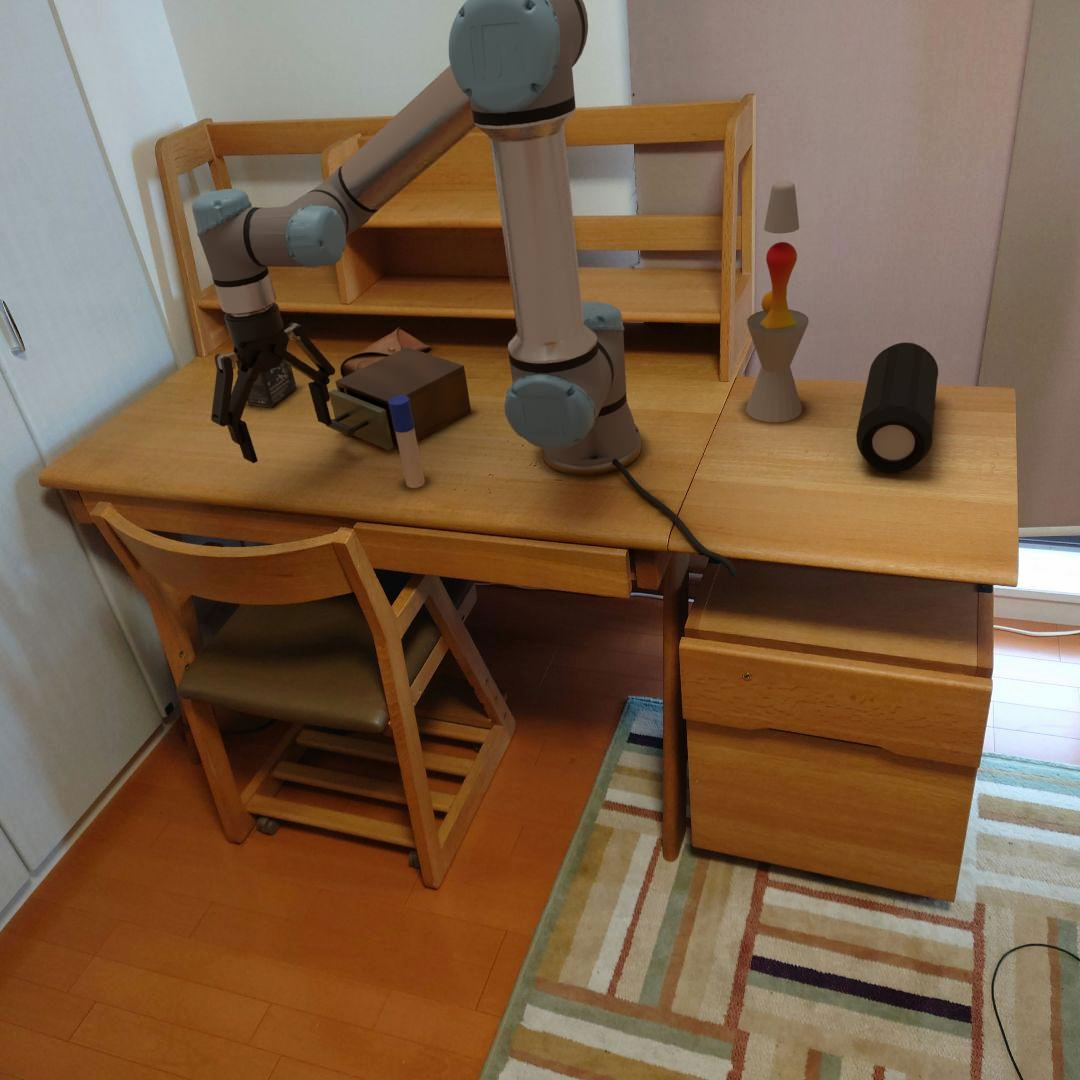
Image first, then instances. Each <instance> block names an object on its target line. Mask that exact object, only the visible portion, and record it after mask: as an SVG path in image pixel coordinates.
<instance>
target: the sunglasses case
mask: <svg viewBox="0 0 1080 1080" xmlns="http://www.w3.org/2000/svg"><path fill="white" fill-rule="evenodd" d="M406 347H408V348H411V349H414V350H417V351H421V352H424V353H426V351H428V350H429V349H431V348H432V346H431V345H428V344H426V343H424V342H423V341H420V340H419V339H418V338H416V337H414V336H413V335H411V334H410V333H408V332H406V331H404V330H403V329H402V328H401V327H400V326H399V327H397V328H396V329H395V330H394V331H393V332H391V333H389V334H387V335H385V336H384V337H381V338H380V339H378V340H376V341H375V342H373V343H372V344H369V346H367V347H365V348H363V349H362V350H360V351H359V352H357V353H355V354H353V355H350V356H349V357H347V358H345V360H343V362H342V363H341V365H340V369H339V371H340V374H341V378H343V377H345V376H347V375H349V374H351V373H354V372H356V371H358V370H360V369H362V368H364V367H366V366H368V365H370V364H372V363H375V362H377V361H379V360H381V359H383V358H385V357H387V356H389V355H391V354H393V353H395V352H398V351H400V350H402V349H404V348H406Z"/></svg>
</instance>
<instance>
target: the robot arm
mask: <svg viewBox="0 0 1080 1080" xmlns="http://www.w3.org/2000/svg"><path fill="white" fill-rule="evenodd" d="M588 34H589V18H588V12H587V9H586V4H585V2H584V0H466V1H465V2H464V3H463V4H462V6H461V7H460V8H459V10H458V11H457V13H456V15H455V17H454V19H453V22H452V25H451V27H450V32H449V37H448V58H449V66H447V67H446V68H445V69H444V70H443V71H442V72H441V73H439V75H437V76H436V77H435V78H434V79H433V80H432V81H431V82H430V83H429V84H428V85H426V87H424V88H423V90H422V91H420V92H419V93H418V94H417V95H416V96H415V97H414V98H413V99H412V100H410V102H408V103H407V104H406V105H405V106H404V107H403V108H402V109H401V110H400V111H398V112H397V114H395V115H394V116H393V117H392V118H391V119H390V120H389V121H388V122H387V123H386V124H384V125H383V126H382V127H381V128H380V129H379V130H378V131H377V132H376V133H375V134H374V135H373V136H371V137H370V138H369V139H368V140H367V141H366V142H365V143H364V144H363V145H362V146H361V147H360V148H359V149H358V150H356V152H354V153H353V154H352V155H351V156H350V157H349V158H348V159H346V161H345V162H343V163H342V165H340V166H339V167H338V168H336V169H335V170H334V171H333V172H332V173H331V174H330V175H329V176H328V177H327V178H326V179H325V180H323V181H322V182H320V184H318V185H317V186H316V187H314V188H313V189H311V190H310V191H308V192H306V193H305V194H303V195H301V196H300V197H298V198H297V199H295V200H293V201H292V202H290V203H289V204H287V205H284V206H271V207H270V206H269V207H257V206H253V205H252V202H251V201H250V199H249V196H248V193H247V192H246V191H245V190H244V189H243V190H242V189H237V188H225V189H218V190H214V191H209V192H207V193H204V194H202V195H200V196H197V197H196V198H195V199H194V201H193V202H192V204H191V210H192V215H193V219H194V222H195V223H194V224H195V227H196V229H197V230H196V231H197V232H196V235H197V237H198V239H199V242H200V244H201V248H202V250H203V253H204V257H205V258H206V261H207V265H208V268H209V270H210V272H211V278H212V282H213V285H214V289H215V292H216V295H217V298H218V301H219V304H220V307H221V308H220V309H221V310H222V312H224V315H223V319H224V322H225V324H226V328H227V331H228V334H229V337H230V340H231V342H232V344H233V350H232V352H229V353H226V354H221V353H216V354H215V355H214V362H215V367H216V376H215V383H214V384H215V385H214V392H213V398H212V399H213V400H212V407H211V408H212V409H211V416H210V417H211V418H210V420H211V422H212V423H215V424H216V425H218V426H220V427H227V429H228V433H229V435H230V438H231V441H232V442H233V443H235V444H236V445H238V446H239V448H240V451H241V453H242V458H243V459H244V460H246V461H248V462H250V463H252V464H255V463H257V462H259V460H258V456H257V453H256V450H255V446H254V444H253V440H252V437H251V434H250V431H249V428H248V424H247V423H246V421H245V420H242V417H243V414H244V410H245V408H246V406H247V403H248V401H247V400H248V397H249V394H250V392H251V389H252V386H253V383H254V382H255V381H256V380H257V378H258V375H259V373H262V374H264V373H266V372H268V371H269V370H270V369H272V368H277V367H279V366H281V365H280V364H281V363H282V361H284V362H285V363H287V364H288V365H290V366H291V368H292V369H295V370H296V371H297V372H299V373H301V374H303V375H304V376H306V377H308V379H311V380H312V381H310V382H308V383H307V386H308V389H309V392H310V397H311V399H312V403H313V408H314V412H315V414H316V418H317V421H318V422H319V423H322V424H324V425H325V426H326V425H330V424H332V421H331V419H332V418H331V413H330V410H329V406H328V402H331V400H330V396H329V392H330V391H329V389H328V385H329V384H330V381H331V380H330V379H331V378H330V377H331V376H334V375H335V374H336V369H335V367H334V366H333V365H332V364H331V363H330V361H329V360H328V359H327V358H326V357H325V355H323V353H322V352H321V351H320V350H319V349H318V348H317V347H316V345H315V344H314V343H313V342H312V340H311V339H310V338H309V336H308V333H307V331H306V328H305V326H304V325H301V324H298V323H295V322H289V324H288V325H287V326H288V327H287V328H285V329H284V322H283V319H282V315H281V312H280V307H279V305H278V304H277V303H276V302H275V301H276V300H277V296H276V293H275V289H274V286H273V282H272V279H271V275H270V272H269V267H271V268H272V267H273V268H274V267H275V268H281V267H284V268H307V269H310V268H311V269H315V268H319V267H327V266H332V265H336V264H337V263H338V262H339V261H340V260H342V257H343V252H345V250H346V246H347V237H348V236H349V235H351V234H352V233H353V232H355V231H357V230H359V229H360V228H362V227H363V226H364V225H366V224H367V223H368V222H369V221H370V219H371V218H372V217H373V216H374V215H375V214H376V213H378V211H380V209H382V208H383V207H384V206H385V205H387V203H389V202H390V201H391V200H392V199H394V198H395V197H396V196H397V195H399V193H401V192H402V191H403V190H404V189H405V188H406V187H408V186H409V185H410V184H411V183H412V182H414V181H415V180H416V179H417V178H418V177H419V176H421V175H422V174H423V173H424V172H425V171H426V170H428V169H429V168H430V167H431V166H433V164H435V163H436V162H437V161H438V160H439V159H441V158H442V157H443V156H444V155H445V154H446V153H447V152H449V151H451V149H452V148H453V147H455V146H456V145H458V143H460V142H461V141H462V140H463V139H464V138H465V137H467V136H468V135H469V134H470V133H471V132H472V131H473V130H475V129H476V128H478V129H479V130H480V131H481V132H482V133H484V134H485V135H486V136H487V137H488V139H489V143H490V144H489V145H490V151H491V158H492V165H493V171H494V172H493V173H494V178H495V187H496V192H497V199H498V201H497V202H498V206H499V207H498V208H499V214H500V221H501V227H502V236H503V243H504V249H505V256H506V263H507V270H508V277H509V284H510V290H511V297H512V298H511V299H512V305H513V311H514V318H515V320H514V321H515V325H516V334H515V335H514V336H513V337H512V338H511V340H510V341H509V342H508V345H507V353H508V359H509V360H508V361H509V367H510V374H511V383H512V384H511V385H510V387H509V388H508V389H507V391H506V396H505V399H504V413H505V417H506V420H507V422H508V424H509V426H510V427H511V429H512V430H513V431H514V432H515V434H516V435H518V436H519V438H523V440H525V441H526V443H528V444H530V445H533V446H534V447H538V448H540V449H541V457H542V460H543V461H544V463H545V464H546V465H547V466H549V468H551V469H553V470H555V471H557V472H560V473H564V474H567V475H572V476H598V475H604V474H609V473H612V472H615V471H619V472H620V474H621V475H622V476H623V477H624V478H625V480H626V481H627V482H628V484H630V486H631V487H632V488H633V489H634V490H635V491H636V492H637V493H638V494H640V495H641V496H642V497H643V498H644V499H646V500H647V501H648V502H650V503H651V504H652V505H654V506H655V507H656V508H658V509H659V510H660V511H661V512H663V513H664V514H665V515H666V516H668V517H669V519H671V521H672V522H673V523H674V524H675V525H676V526H677V528H679V530H680V532H682V534H683V535H684V536H685V538H686V539H687V541H689V543H690V544H691V545H692V546H693V547H694V548H695V549H696V550H697V551H698V552H699V553H700V554H702V555H703V556H705V557H706V558H709V559H711V560H713V561H716V562H719V563H721V564H722V565H723V566H725V568H726V569H727V570H728V572H729V574H730V576H731V577H732V578H733V579H739V578H740V577H741V576H740V573H739V571H738V569H737V568H736V566H735V565H734V563H732V561H731V560H729V559H728V558H727V557H726V556H724V555H722V554H720V553H717V552H714V551H711V550H710V549H708V548H706V546H705V545H703V544H702V543H701V542H700V541H699V540H698V539H697V538H696V537H695V536H694V534H693V533H692V532H691V530H690V529H689V527H687V525H686V524H685V523H684V521H683V520H682V519H681V518H680V517H679V516H678V515H677V514H676V513H675V512H674V511H673V510H672V509H671V508H669V507H668V506H667V505H665V503H663V502H662V501H660V500H659V499H658V498H656V497H654V496H653V495H652V494H651V493H649V491H647V490H646V489H645V488H643V486H642V485H640V484H639V483H638V482H637V480H636V479H635V478H634V477H633V475H632V474H631V473H630V472H629V471H628V470H627V468H626V467H627V466H629V465H630V464H632V463H633V462H634V461H636V459H638V457H639V455H640V454H641V452H642V436H641V433H640V430H639V428H638V426H637V425H636V424H635V420H634V417H633V414H632V411H631V409H630V406H629V404H628V399H627V397H628V396H627V377H626V359H625V339H624V337H625V336H624V331H625V326H624V322H623V315H622V312H621V310H620V309H619V308H618V307H616V306H615V305H613V304H610V303H607V302H602V301H590V300H585V301H584V300H583V299H582V292H581V290H582V289H581V281H580V272H579V263H578V262H579V261H578V260H579V259H578V251H577V242H576V233H575V222H574V212H573V211H574V210H573V201H572V193H571V181H570V173H569V164H568V163H569V162H568V153H567V143H566V132H565V127H566V125H567V123H569V121H570V119H571V118H572V116H573V115H574V114H575V112H576V111H577V109H576V107H577V106H576V96H575V95H576V94H575V85H574V73H573V68H574V66H575V65H576V64H578V63H577V62H578V61H579V59H580V58H581V56H582V54H583V52H584V49H585V47H586V45H587V39H588ZM582 300H583V301H582ZM290 340H291V341H293V342H294V343H295V344H296V345H297V346H298V347H299V349H300V350H301V351H302V352H303V353H304V354H305V355H306V357H308V359H309V360H310V361H311V362H312V363H313V365H315V367H316V368H317V369H318V370H317V369H315V368H313V367H311V366H310V365H309V364H307V363H305V362H304V361H302V360H301V359H299V358H297V356H295V355H294V354H292V353H291V352H290V351H288V350H287V351H286V349H287V348H288V345H289V342H290ZM236 361H239V362H240V365H239V368H238V367H237V365H236V364H237V363H236ZM236 368H237V372H236V374H237V376H236V380H235V382H234V370H235V369H236ZM248 369H250V372H249V373H248ZM233 383H234V385H233Z"/></svg>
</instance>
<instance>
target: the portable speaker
mask: <svg viewBox="0 0 1080 1080" xmlns="http://www.w3.org/2000/svg"><path fill="white" fill-rule="evenodd" d="M867 377H868V378H867V381H866V387H865V391H864V394H863V395H864V396H863V399H862V406H861V410H860V415H859V419H858V424H857V429H856V435H855V436H856V438H855V439H856V445H857V448H858V451H859V453H860V454H861V455H862V457H863V458H864V460H865V461H866V463H868V465H869V466H870V467H872V468H874V470H878V471H879V472H883V473H888V474H898V473H903V472H907V471H909V470H912V469H913V468H914V467H916V465H918V464H919V463H921V462H922V461H923V460H924V459H925V458H926V456H927V455H928V454H929V452H930V451H931V448H932V445H933V433H934V422H935V410H936V405H937V404H936V403H937V387H938V378H939V367H938V363H937V360H936V359H935V357H934V356H933V354H931V353H930V351H928V350H927V349H926V348H924V347H923V346H921V345H919V344H917V343H914V342H908V341H907V342H899V343H895V344H893V345H891V346H888V347H887V348H885V349H883V350H882V351H881V352H879V353H878V355H877V356H876V357H874V359H873V361H872V363H871V364H870V368H869V371H868V376H867Z"/></svg>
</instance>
